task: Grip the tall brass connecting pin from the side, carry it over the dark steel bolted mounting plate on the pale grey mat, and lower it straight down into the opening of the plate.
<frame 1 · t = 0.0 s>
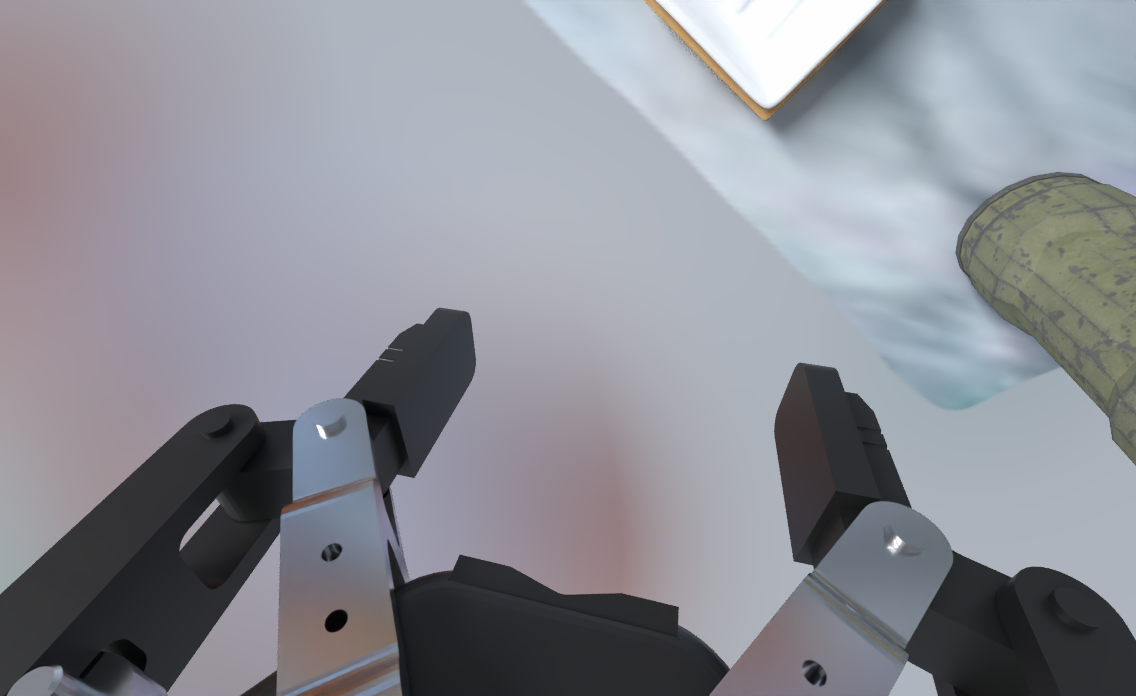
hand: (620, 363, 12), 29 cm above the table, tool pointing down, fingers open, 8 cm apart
thermos: (1027, 231, 34), on the table
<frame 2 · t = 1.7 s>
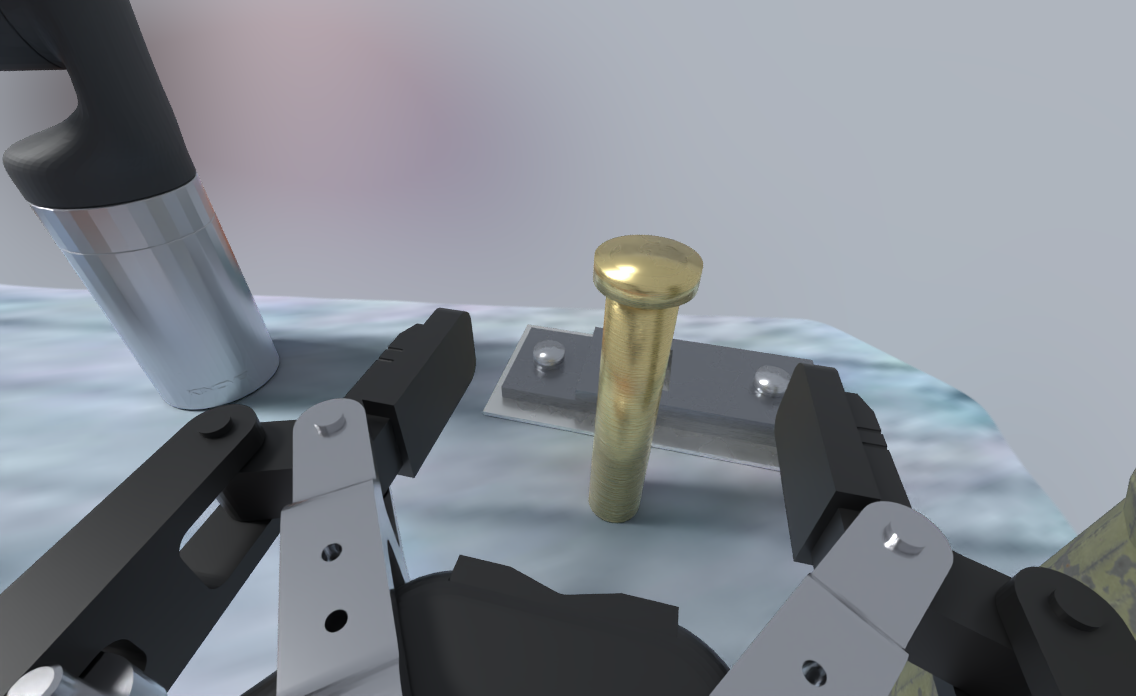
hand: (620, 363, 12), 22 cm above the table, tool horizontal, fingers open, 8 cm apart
brass pin: (613, 500, 34), on the table
bolted mounting plate: (634, 387, 43), on the table
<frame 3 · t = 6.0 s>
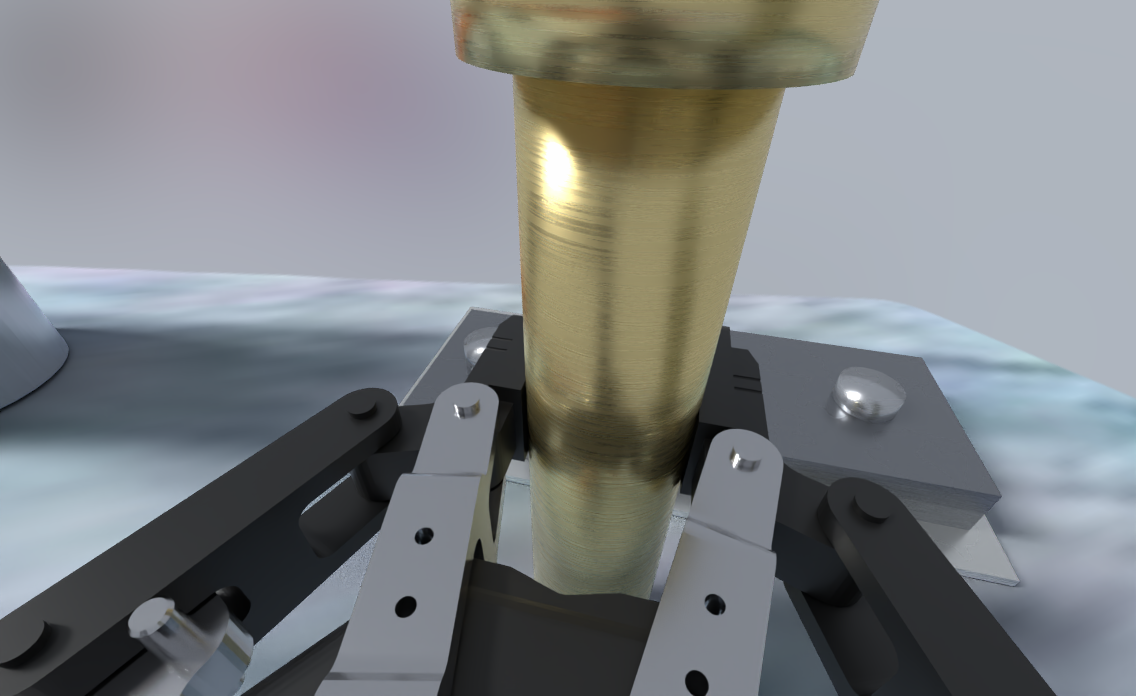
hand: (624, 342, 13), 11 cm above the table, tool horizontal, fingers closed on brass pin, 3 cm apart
brass pin: (586, 631, 17), on the table, touching gripper
bolted mounting plate: (630, 404, 27), on the table
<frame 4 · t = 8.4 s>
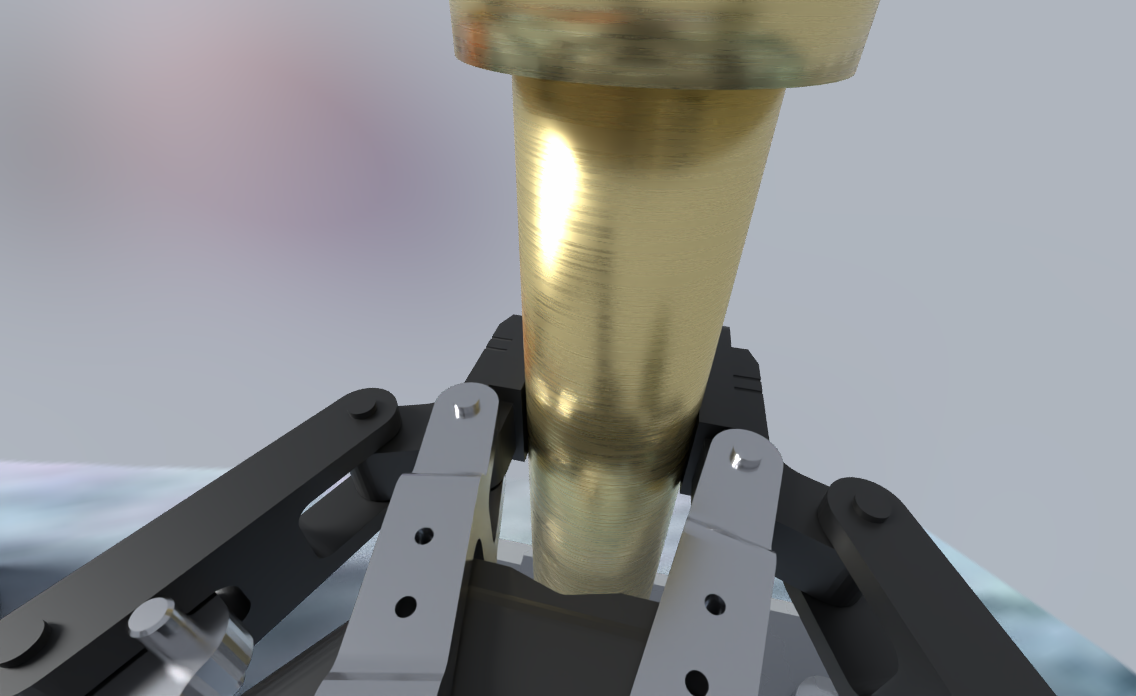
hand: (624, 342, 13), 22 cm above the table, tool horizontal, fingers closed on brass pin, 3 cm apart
brass pin: (586, 632, 17), point 11 cm above the table, touching gripper
bolted mounting plate: (584, 680, 25), on the table
when the fingers open (12 cm above the table, at t = 11.2 s): brass pin stays where it is, resting on bolted mounting plate.
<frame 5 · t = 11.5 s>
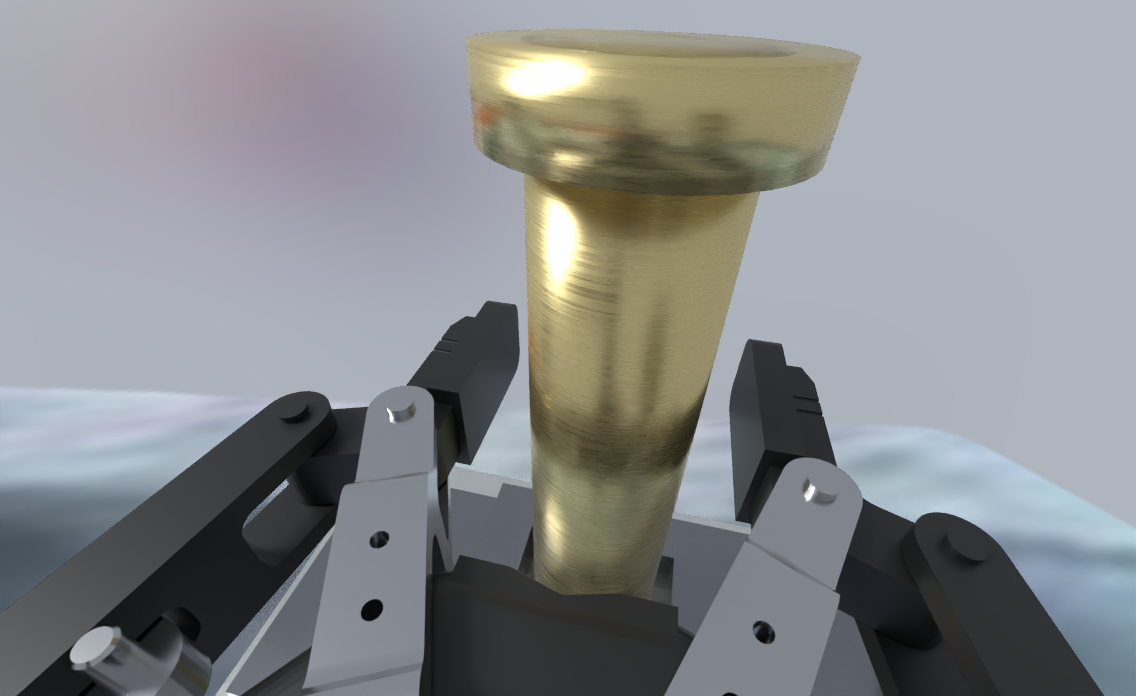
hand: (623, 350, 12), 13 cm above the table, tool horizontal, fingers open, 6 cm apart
brass pin: (584, 646, 18), resting on bolted mounting plate
bolted mounting plate: (583, 648, 18), on the table
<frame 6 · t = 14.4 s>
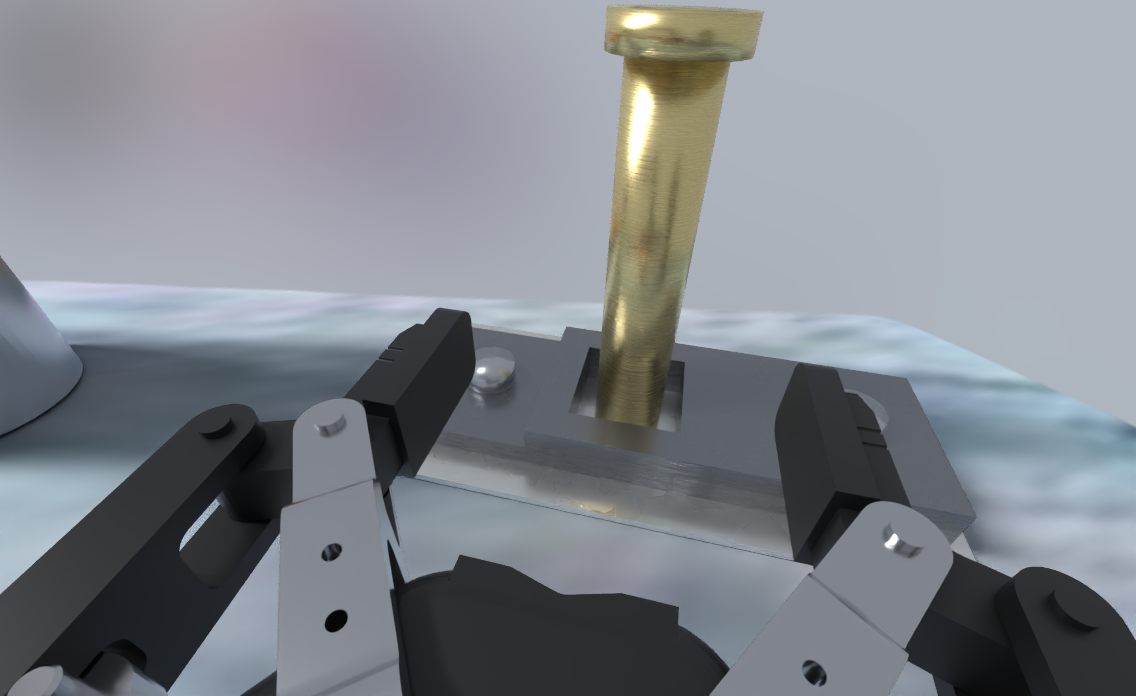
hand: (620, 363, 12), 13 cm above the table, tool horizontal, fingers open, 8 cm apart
brass pin: (626, 417, 27), resting on bolted mounting plate
bolted mounting plate: (625, 421, 27), on the table
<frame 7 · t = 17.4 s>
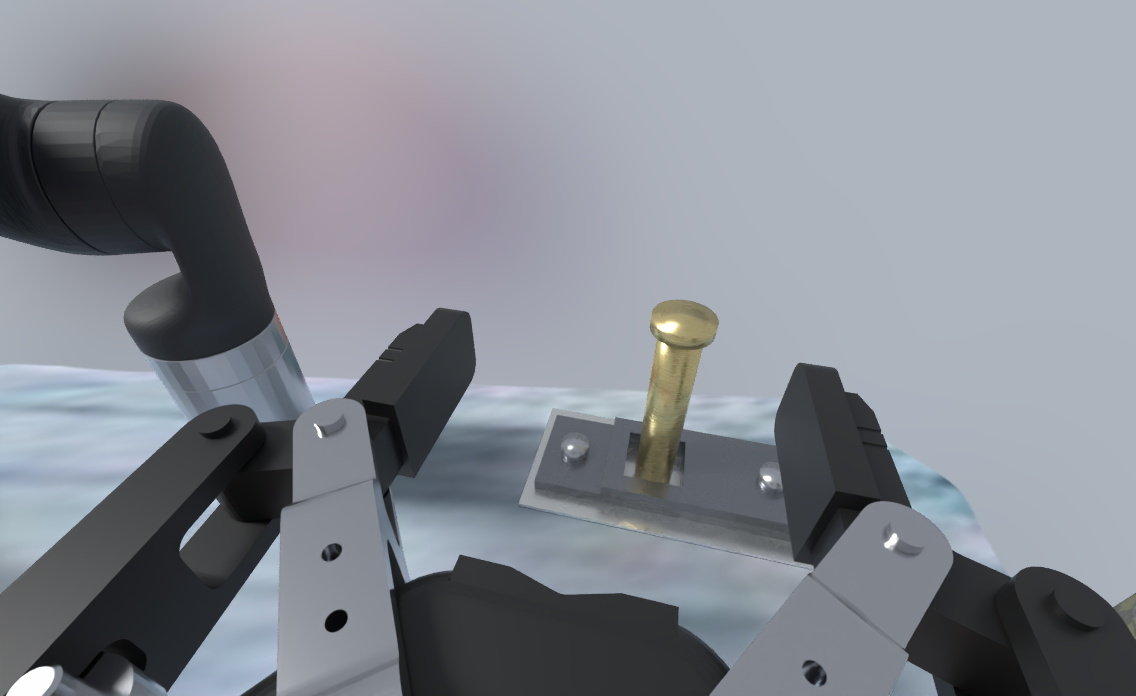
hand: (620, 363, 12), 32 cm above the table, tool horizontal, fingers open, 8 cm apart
brass pin: (652, 474, 48), resting on bolted mounting plate
bolted mounting plate: (651, 476, 48), on the table
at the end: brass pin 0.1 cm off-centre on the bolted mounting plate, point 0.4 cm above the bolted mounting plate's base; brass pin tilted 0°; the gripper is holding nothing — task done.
